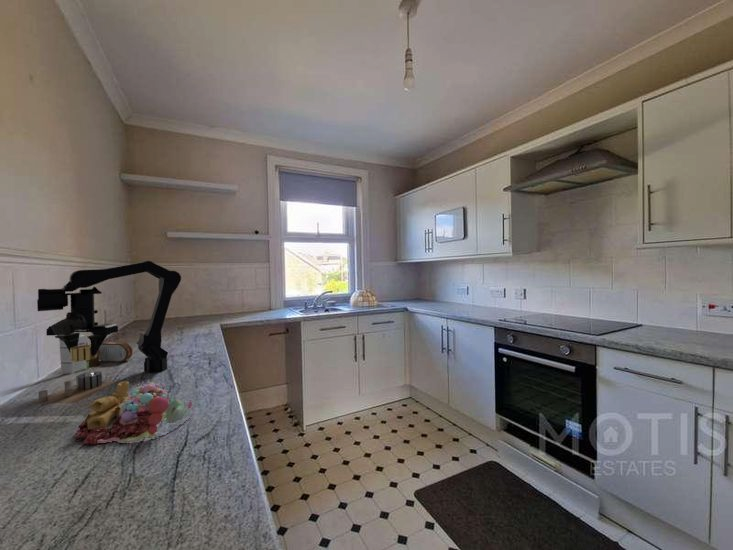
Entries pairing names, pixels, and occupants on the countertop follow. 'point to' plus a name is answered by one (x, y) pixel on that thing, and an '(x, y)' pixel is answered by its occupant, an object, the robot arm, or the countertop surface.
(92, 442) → the candy landscape model
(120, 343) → the tin
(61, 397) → the board
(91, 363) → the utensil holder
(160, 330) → the robot arm
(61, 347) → the syrup box
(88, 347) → the brass gear
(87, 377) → the gear
